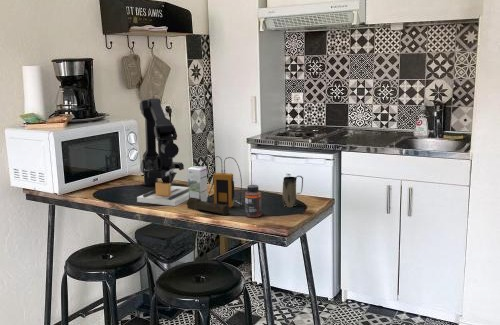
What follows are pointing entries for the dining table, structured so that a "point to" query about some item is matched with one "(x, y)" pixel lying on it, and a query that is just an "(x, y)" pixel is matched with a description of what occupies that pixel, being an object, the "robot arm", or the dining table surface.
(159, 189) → the lever
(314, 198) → the dining table surface
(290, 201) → the mug
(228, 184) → the multimeter
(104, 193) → the dining table surface
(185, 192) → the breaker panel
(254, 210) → the supplement bottle
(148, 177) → the robot arm
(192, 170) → the syrup box
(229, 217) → the dining table surface
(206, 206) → the hand tool
